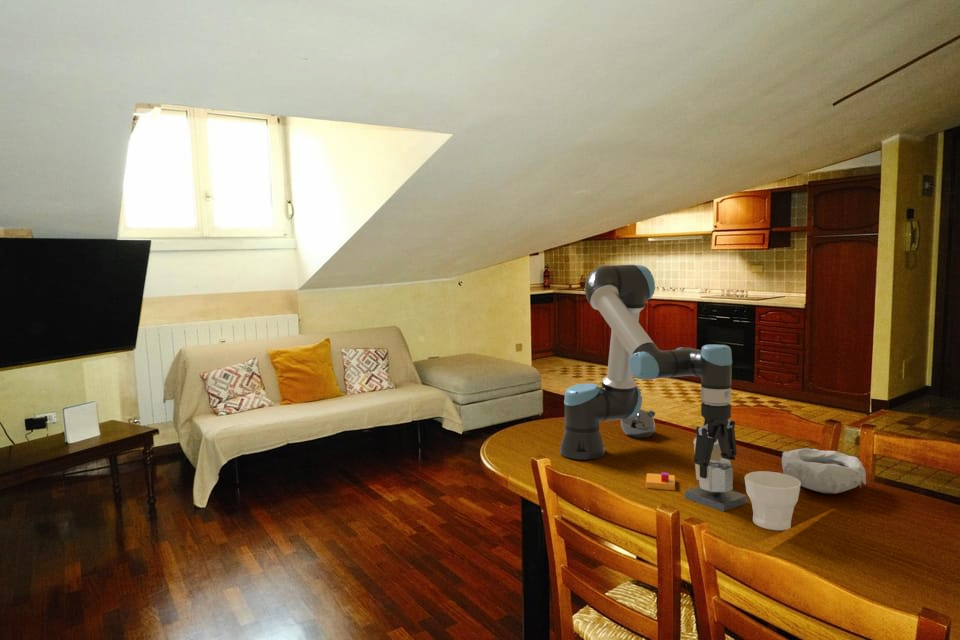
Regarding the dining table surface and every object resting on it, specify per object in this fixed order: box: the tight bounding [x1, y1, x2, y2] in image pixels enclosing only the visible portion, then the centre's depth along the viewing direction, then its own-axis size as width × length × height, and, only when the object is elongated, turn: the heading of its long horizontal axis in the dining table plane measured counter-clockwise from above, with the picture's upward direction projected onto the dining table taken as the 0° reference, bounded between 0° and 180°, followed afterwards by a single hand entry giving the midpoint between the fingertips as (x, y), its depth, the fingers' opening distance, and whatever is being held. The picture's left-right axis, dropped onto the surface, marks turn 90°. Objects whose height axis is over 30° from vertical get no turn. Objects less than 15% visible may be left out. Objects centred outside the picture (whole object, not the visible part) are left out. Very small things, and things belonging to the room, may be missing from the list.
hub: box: [698, 460, 734, 492], centre depth 161 cm, size 8×8×6 cm
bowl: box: [781, 447, 867, 495], centre depth 167 cm, size 21×20×10 cm
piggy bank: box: [620, 408, 656, 439], centre depth 221 cm, size 11×15×12 cm
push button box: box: [645, 472, 676, 491], centre depth 175 cm, size 8×8×4 cm
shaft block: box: [684, 485, 748, 513], centre depth 162 cm, size 12×10×8 cm
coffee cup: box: [693, 436, 724, 481], centre depth 178 cm, size 9×9×12 cm
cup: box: [743, 470, 802, 531], centre depth 146 cm, size 12×12×11 cm
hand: (715, 485), depth 162 cm, fingers closed on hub, 8 cm apart
